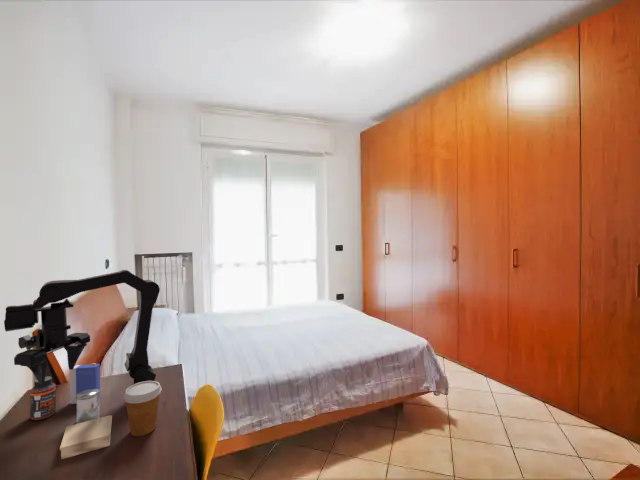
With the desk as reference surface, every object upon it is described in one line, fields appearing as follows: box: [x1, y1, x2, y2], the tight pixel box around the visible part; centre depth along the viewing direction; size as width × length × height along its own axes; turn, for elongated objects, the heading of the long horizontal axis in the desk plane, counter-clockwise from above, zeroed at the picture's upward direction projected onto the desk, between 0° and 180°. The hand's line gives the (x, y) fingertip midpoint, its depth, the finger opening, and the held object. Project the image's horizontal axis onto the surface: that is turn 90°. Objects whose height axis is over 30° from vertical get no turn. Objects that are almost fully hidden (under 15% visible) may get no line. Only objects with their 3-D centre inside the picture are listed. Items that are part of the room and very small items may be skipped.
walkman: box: [68, 362, 101, 405], centre depth 106 cm, size 8×3×12 cm, turn 99°
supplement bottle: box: [29, 376, 57, 421], centre depth 97 cm, size 6×6×11 cm
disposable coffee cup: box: [122, 380, 162, 437], centre depth 91 cm, size 10×10×12 cm
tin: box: [76, 389, 101, 424], centre depth 95 cm, size 6×6×8 cm
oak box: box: [59, 415, 113, 460], centre depth 85 cm, size 10×10×3 cm
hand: (57, 376), depth 95 cm, fingers open, 9 cm apart
